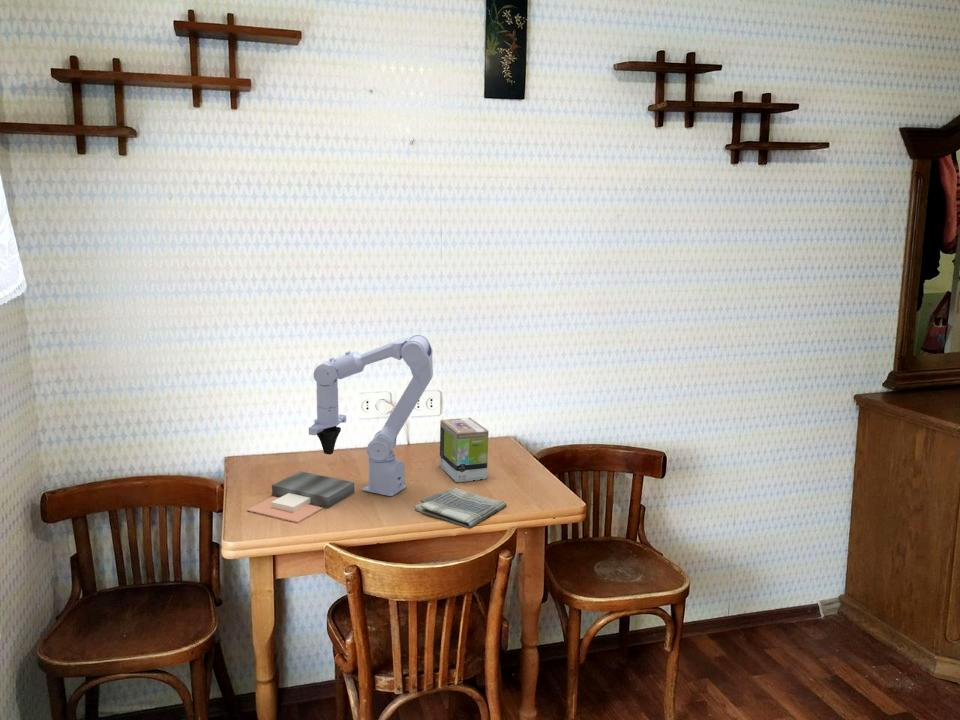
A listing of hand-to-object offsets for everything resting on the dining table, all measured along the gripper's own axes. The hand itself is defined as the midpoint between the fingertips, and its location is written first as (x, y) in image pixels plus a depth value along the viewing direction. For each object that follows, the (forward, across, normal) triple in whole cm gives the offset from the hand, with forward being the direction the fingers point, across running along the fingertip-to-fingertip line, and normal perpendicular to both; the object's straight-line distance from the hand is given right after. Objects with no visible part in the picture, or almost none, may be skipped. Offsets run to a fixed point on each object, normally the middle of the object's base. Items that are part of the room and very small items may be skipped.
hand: (328, 453), depth 211 cm
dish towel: (+10, -3, +39) cm, 40 cm away
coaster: (+9, +17, 0) cm, 19 cm away
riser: (+9, +7, 0) cm, 12 cm away
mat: (+9, +19, 0) cm, 21 cm away
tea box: (+10, -27, +28) cm, 40 cm away
